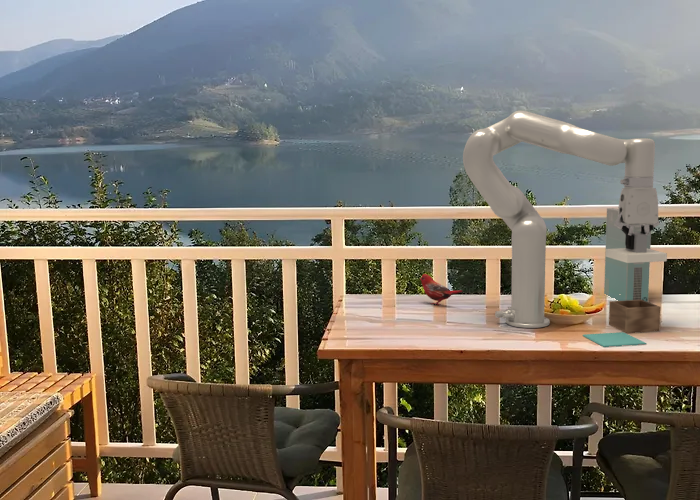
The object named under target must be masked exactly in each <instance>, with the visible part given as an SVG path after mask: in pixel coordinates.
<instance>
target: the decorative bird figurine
mask: <svg viewBox="0 0 700 500" xmlns="http://www.w3.org/2000/svg"><path fill="white" fill-rule="evenodd" d="M419 281H421V285H422V288H423V290H424V293H425V295H426V296H427V297H428V298H429V299H431V300H433V301H434V302H430V304H431V305H433V304H437V305H436V306H439V305H440V306H441V305H442V304H441V302H442V301H443V300H448V299H449V298H450V297H452V296H453V295H456V294H459V293H462V292H463V290H451V289H450V288H448V287H446V286H445V285H443V284H441V283H439V282H437V281H435V280H434V279H433V278H432V277H431V276H430V275H429V274H427V273H423V274H422V276H421V277H420V278H419Z"/></svg>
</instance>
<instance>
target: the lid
mask: <svg viewBox="0 0 700 500" xmlns="http://www.w3.org/2000/svg"><path fill="white" fill-rule="evenodd" d="M633 235H634V249H633V250H630V249H627V248H626V247H625V248H618V249H606V248H605V251H606V257H609V258H612V259H616V260H619V261H622V262H626V263H636V262H650V263H658V262H659V263H660V262H667V261H668V253H667V252H664V251H659V250H657V249H656V250H655V249H651V248H650V249H648V248H647V234H643V233H638V232H633Z"/></svg>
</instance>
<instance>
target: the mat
mask: <svg viewBox="0 0 700 500" xmlns="http://www.w3.org/2000/svg"><path fill="white" fill-rule="evenodd" d="M582 337H583V338H586V339H587V340H590V341H591V342H592V343H593V342H594V343H595V344H597V345H599V346H601V347H602V346H603V348H610V347H609V346H616V347H623V346H622V345H632V346H639V345H638V344H646V345H647V342H645V341H643V340H640V339H638V338H637V337H634V336H633V335H631V334H629V333H625V332H623V331H620V332H603V333H601V332H600V333H589V334H587V333H586V334H582Z"/></svg>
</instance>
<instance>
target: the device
mask: <svg viewBox="0 0 700 500" xmlns="http://www.w3.org/2000/svg"><path fill="white" fill-rule="evenodd" d="M617 218H618V208H614V207H607V208H606V220H605V221H606V224H605V225H606V227H605V252H604V254H605V256H604V257H605V258H604V283H603V284H604V286H603V289H604V290H603V295H604V294H606V295H608V296H610V297H611V298H610V297H609V298H610V299H612V298H615V299H616V300H618V301H625V300H644V301H646V302H649V294H650V293H649V292H650V291H649V290H650V289H649V288H650V268H651V267H650V266H651V262H636V263H626V262H622V261H619V260H616V259H612V258H609V257H606V249H618V248H625V247H626V245H625V238H626V234H624V232H623V231H622V230H621V229H620V228H618V227H616V226H615V225H614V224H615V222H616V220H617ZM622 224H623V225H624V226H625V223H622ZM633 232H638V233H640V224H639V225H634V228H633ZM651 237H652V230H651V231H650V233H649V235H647V248H648V249H651V245H652V244H651V243H652V242H651V241H652V239H651ZM619 294H621V295H619ZM608 296H607V297H608ZM616 300H615V301H616Z"/></svg>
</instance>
